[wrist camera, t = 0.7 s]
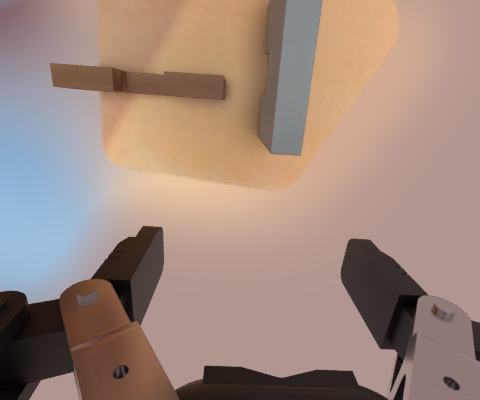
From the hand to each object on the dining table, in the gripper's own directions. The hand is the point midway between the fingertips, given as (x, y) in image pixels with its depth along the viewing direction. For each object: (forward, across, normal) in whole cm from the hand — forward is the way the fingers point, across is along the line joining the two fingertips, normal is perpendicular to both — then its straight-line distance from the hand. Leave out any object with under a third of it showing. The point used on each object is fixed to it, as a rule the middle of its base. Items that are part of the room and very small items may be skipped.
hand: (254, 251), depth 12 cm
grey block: (+24, -3, -9) cm, 26 cm away
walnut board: (+24, +10, -6) cm, 27 cm away
